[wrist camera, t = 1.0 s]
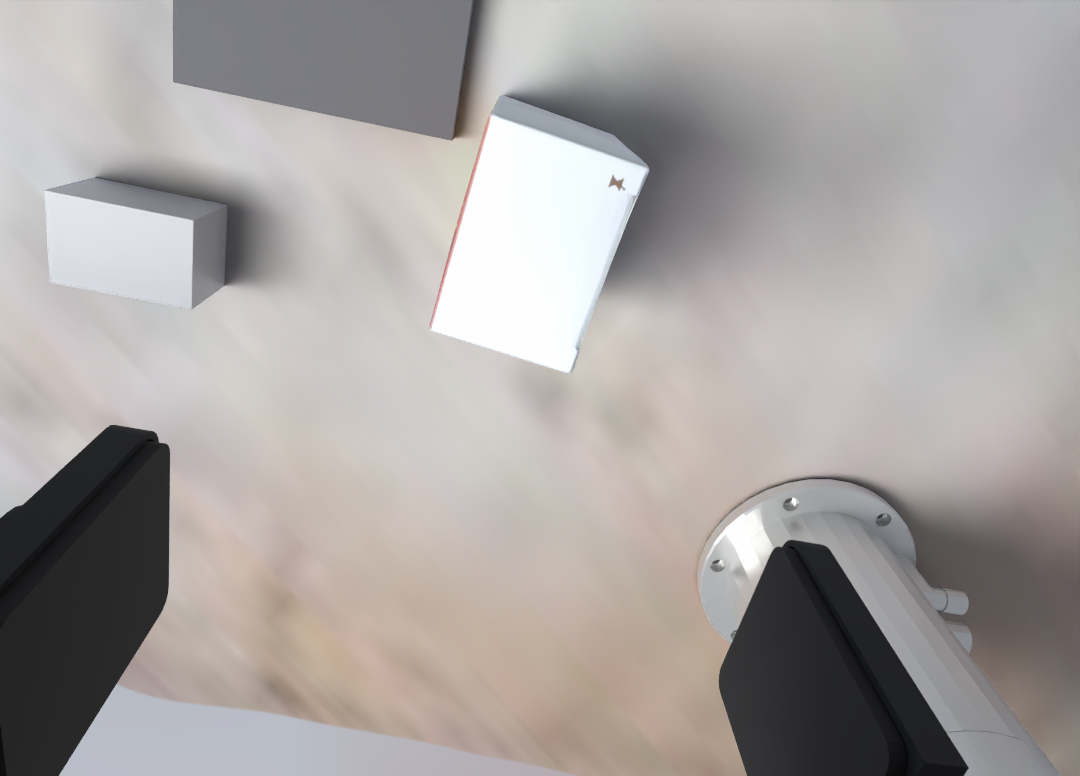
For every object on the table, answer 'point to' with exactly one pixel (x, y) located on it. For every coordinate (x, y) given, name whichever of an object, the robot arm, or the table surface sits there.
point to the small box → (536, 234)
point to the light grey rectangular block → (135, 242)
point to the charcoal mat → (331, 56)
